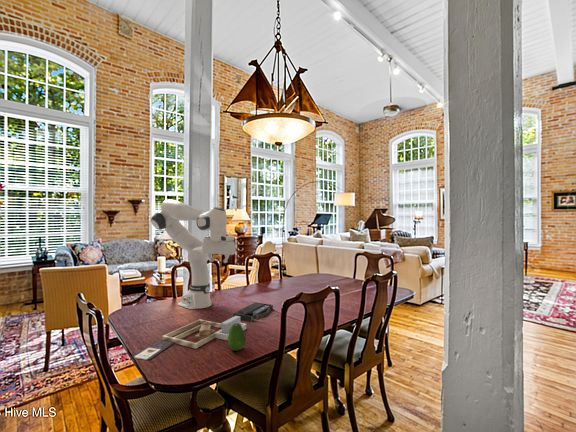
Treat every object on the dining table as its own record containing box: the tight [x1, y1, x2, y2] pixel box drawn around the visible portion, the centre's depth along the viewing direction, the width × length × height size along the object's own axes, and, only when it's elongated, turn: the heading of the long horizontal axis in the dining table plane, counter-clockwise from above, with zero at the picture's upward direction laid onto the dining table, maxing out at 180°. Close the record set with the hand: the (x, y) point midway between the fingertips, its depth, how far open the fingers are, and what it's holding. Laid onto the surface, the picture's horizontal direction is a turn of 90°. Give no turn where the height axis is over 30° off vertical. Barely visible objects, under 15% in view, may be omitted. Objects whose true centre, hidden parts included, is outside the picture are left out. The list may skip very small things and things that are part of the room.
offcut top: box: [198, 325, 212, 336], centre depth 152 cm, size 5×7×2 cm, turn 7°
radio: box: [232, 302, 274, 323], centre depth 186 cm, size 25×4×20 cm
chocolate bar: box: [131, 339, 175, 361], centre depth 137 cm, size 9×1×18 cm
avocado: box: [227, 323, 247, 352], centre depth 137 cm, size 8×8×12 cm
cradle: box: [214, 322, 248, 341], centre depth 157 cm, size 7×17×2 cm, turn 154°
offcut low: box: [194, 328, 216, 342], centre depth 152 cm, size 5×10×2 cm, turn 161°
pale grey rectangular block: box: [220, 316, 241, 334], centre depth 157 cm, size 3×12×7 cm, turn 154°
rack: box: [161, 318, 222, 350], centre depth 155 cm, size 21×26×2 cm
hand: (218, 262), depth 169 cm, fingers open, 8 cm apart
